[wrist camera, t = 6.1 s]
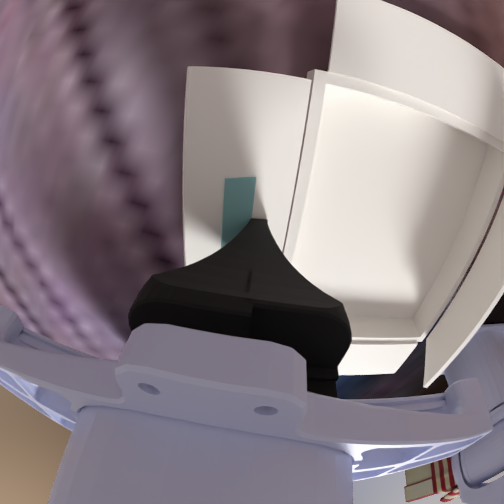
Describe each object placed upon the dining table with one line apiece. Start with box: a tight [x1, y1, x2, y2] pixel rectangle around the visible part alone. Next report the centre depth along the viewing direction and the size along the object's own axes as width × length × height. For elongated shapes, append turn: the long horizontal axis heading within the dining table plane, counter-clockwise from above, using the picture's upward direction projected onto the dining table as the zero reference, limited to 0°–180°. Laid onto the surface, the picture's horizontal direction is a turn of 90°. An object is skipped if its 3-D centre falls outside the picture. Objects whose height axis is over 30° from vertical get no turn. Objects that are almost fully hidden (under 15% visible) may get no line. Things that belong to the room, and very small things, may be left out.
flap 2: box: [423, 196, 504, 388], centre depth 11 cm, size 4×14×1 cm
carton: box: [282, 0, 504, 375], centre depth 14 cm, size 12×23×2 cm, turn 174°
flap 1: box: [183, 66, 312, 266], centre depth 12 cm, size 4×14×1 cm, turn 172°
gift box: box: [404, 456, 460, 502], centre depth 26 cm, size 17×18×17 cm
